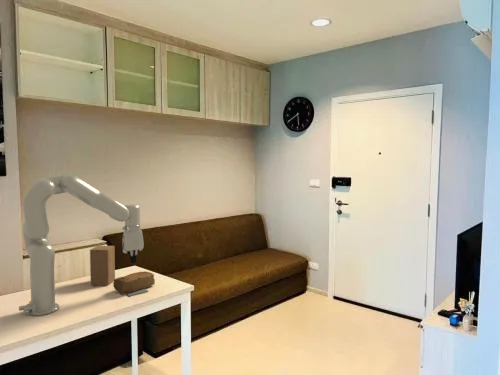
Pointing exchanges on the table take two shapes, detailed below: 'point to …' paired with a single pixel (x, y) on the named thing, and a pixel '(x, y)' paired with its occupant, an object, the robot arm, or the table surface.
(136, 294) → the mat
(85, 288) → the table surface
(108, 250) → the wooden block
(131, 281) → the block
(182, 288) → the table surface
